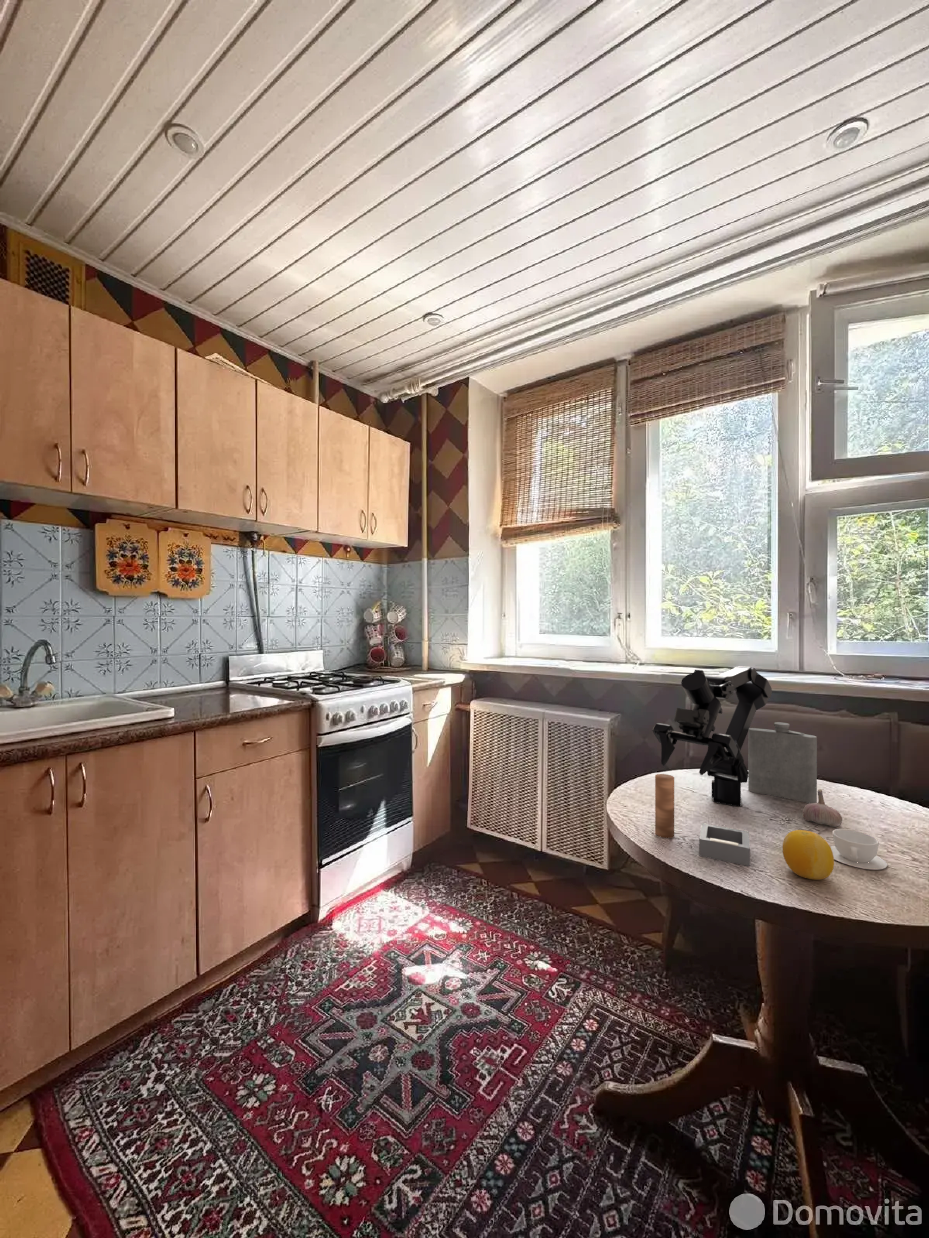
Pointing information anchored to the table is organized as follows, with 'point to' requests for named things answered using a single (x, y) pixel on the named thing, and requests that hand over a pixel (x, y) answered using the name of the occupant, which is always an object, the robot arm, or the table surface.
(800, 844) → the fruit
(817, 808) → the garlic bulb
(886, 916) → the table surface
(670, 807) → the peg
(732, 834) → the socket block
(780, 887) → the table surface
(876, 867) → the teacup
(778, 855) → the table surface
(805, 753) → the hip flask
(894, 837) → the table surface
